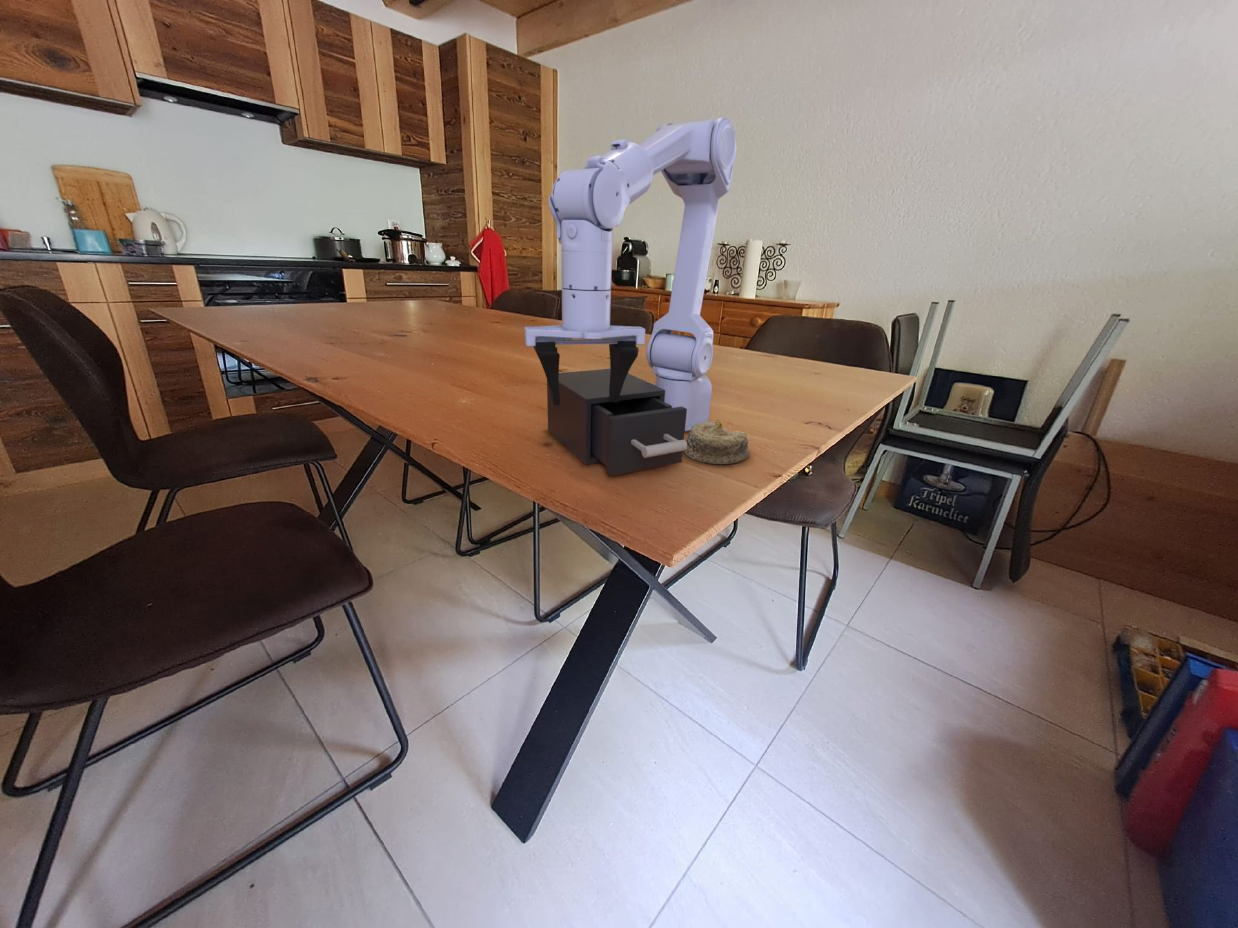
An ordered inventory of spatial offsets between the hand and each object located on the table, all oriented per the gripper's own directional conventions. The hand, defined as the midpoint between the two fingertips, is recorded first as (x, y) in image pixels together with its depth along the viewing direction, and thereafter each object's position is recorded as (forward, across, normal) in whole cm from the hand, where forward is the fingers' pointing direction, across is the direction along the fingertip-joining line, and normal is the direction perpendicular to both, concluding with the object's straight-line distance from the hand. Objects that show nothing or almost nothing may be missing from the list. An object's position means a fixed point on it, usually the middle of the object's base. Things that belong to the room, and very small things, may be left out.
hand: (585, 401), depth 60 cm
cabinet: (+10, +5, +10) cm, 15 cm away
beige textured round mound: (+10, +21, +2) cm, 23 cm away
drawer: (+9, +7, +1) cm, 11 cm away
